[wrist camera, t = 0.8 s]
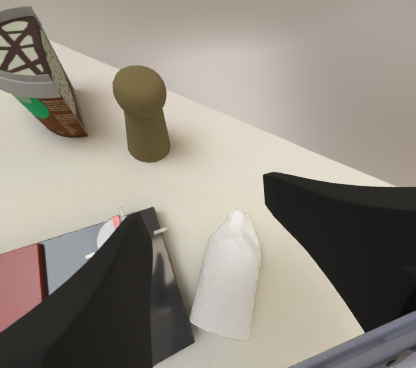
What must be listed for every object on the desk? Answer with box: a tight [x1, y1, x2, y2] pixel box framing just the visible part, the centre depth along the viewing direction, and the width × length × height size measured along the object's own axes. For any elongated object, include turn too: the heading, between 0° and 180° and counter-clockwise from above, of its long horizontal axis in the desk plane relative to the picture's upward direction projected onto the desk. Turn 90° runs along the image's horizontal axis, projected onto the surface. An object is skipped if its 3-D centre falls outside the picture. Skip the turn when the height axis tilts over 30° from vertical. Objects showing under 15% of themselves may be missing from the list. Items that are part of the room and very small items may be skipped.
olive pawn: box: [113, 66, 170, 162], centre depth 23 cm, size 6×6×11 cm
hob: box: [3, 207, 195, 366], centre depth 18 cm, size 15×21×2 cm
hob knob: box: [97, 215, 126, 249], centre depth 18 cm, size 4×4×4 cm
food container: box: [0, 6, 88, 137], centre depth 23 cm, size 12×6×10 cm, turn 26°
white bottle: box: [189, 209, 261, 341], centre depth 20 cm, size 6×12×6 cm, turn 165°
